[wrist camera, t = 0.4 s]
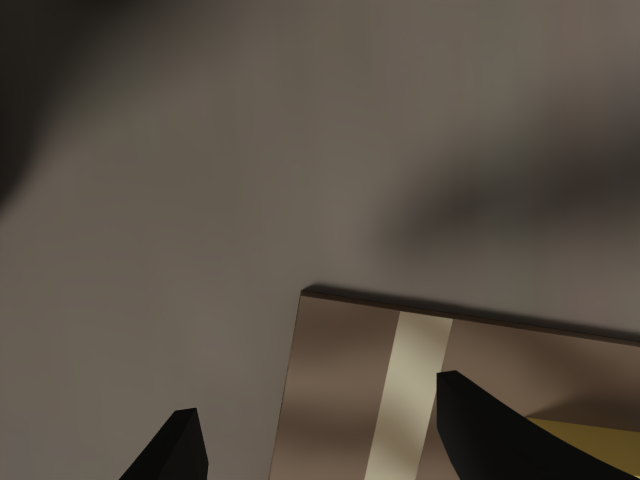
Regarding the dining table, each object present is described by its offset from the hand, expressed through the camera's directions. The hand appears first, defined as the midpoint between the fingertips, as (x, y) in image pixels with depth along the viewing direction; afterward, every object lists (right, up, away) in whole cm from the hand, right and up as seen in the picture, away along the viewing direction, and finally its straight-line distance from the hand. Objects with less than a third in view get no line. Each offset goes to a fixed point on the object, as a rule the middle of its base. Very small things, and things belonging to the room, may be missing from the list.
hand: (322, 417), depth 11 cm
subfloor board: (+9, -7, +12) cm, 17 cm away
